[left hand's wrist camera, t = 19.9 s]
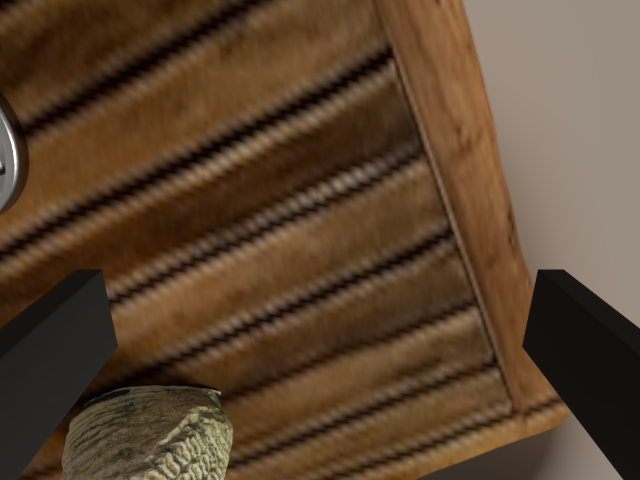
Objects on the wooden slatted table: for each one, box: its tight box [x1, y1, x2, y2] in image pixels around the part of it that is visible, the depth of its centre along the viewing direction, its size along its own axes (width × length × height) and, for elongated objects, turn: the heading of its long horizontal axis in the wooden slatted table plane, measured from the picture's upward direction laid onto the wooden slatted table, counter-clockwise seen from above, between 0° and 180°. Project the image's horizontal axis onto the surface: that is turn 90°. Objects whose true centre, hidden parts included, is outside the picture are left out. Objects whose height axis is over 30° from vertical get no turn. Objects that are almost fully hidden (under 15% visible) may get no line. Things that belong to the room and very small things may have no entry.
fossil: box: [61, 385, 233, 480], centre depth 40 cm, size 9×18×15 cm, turn 109°
